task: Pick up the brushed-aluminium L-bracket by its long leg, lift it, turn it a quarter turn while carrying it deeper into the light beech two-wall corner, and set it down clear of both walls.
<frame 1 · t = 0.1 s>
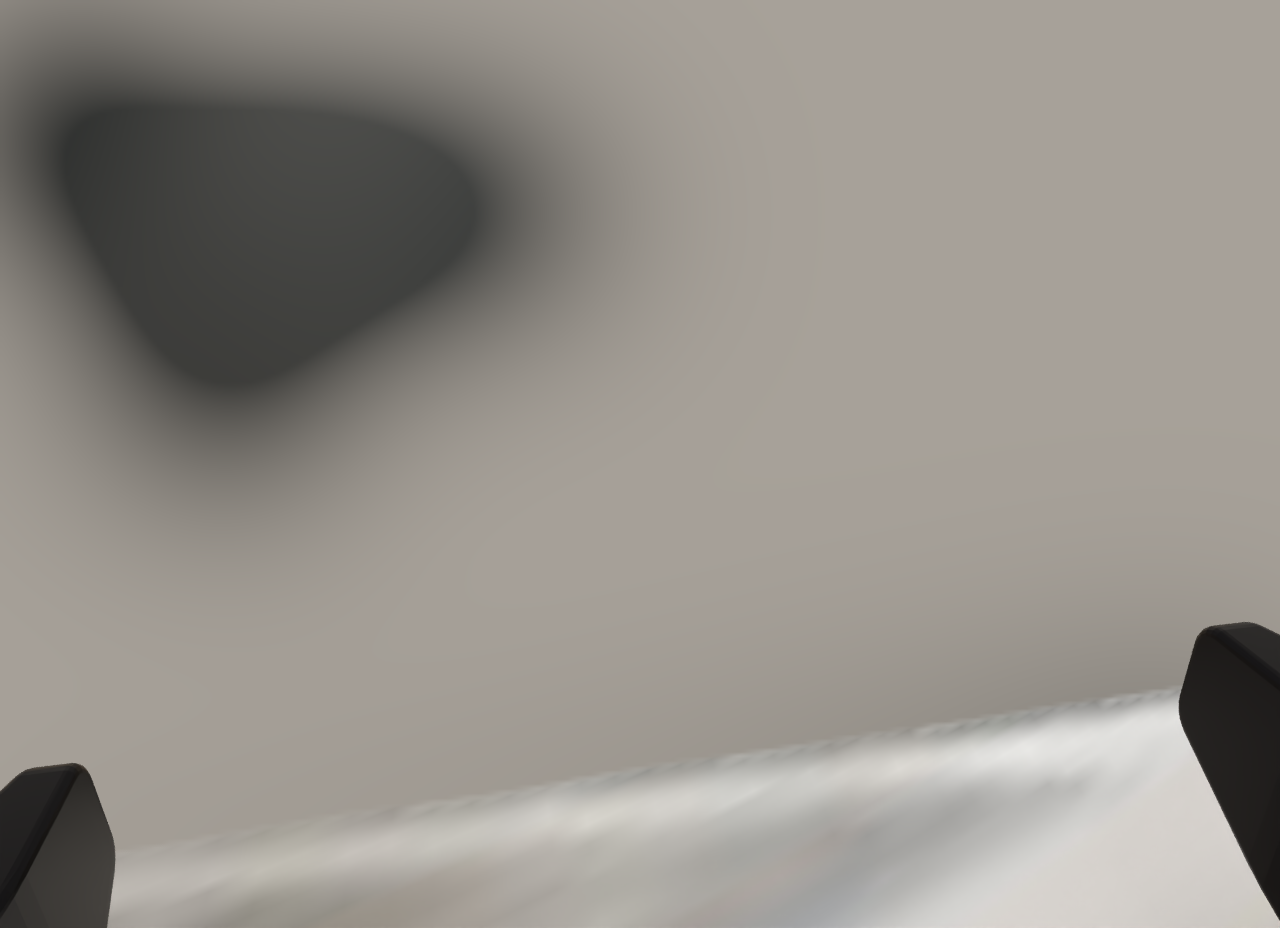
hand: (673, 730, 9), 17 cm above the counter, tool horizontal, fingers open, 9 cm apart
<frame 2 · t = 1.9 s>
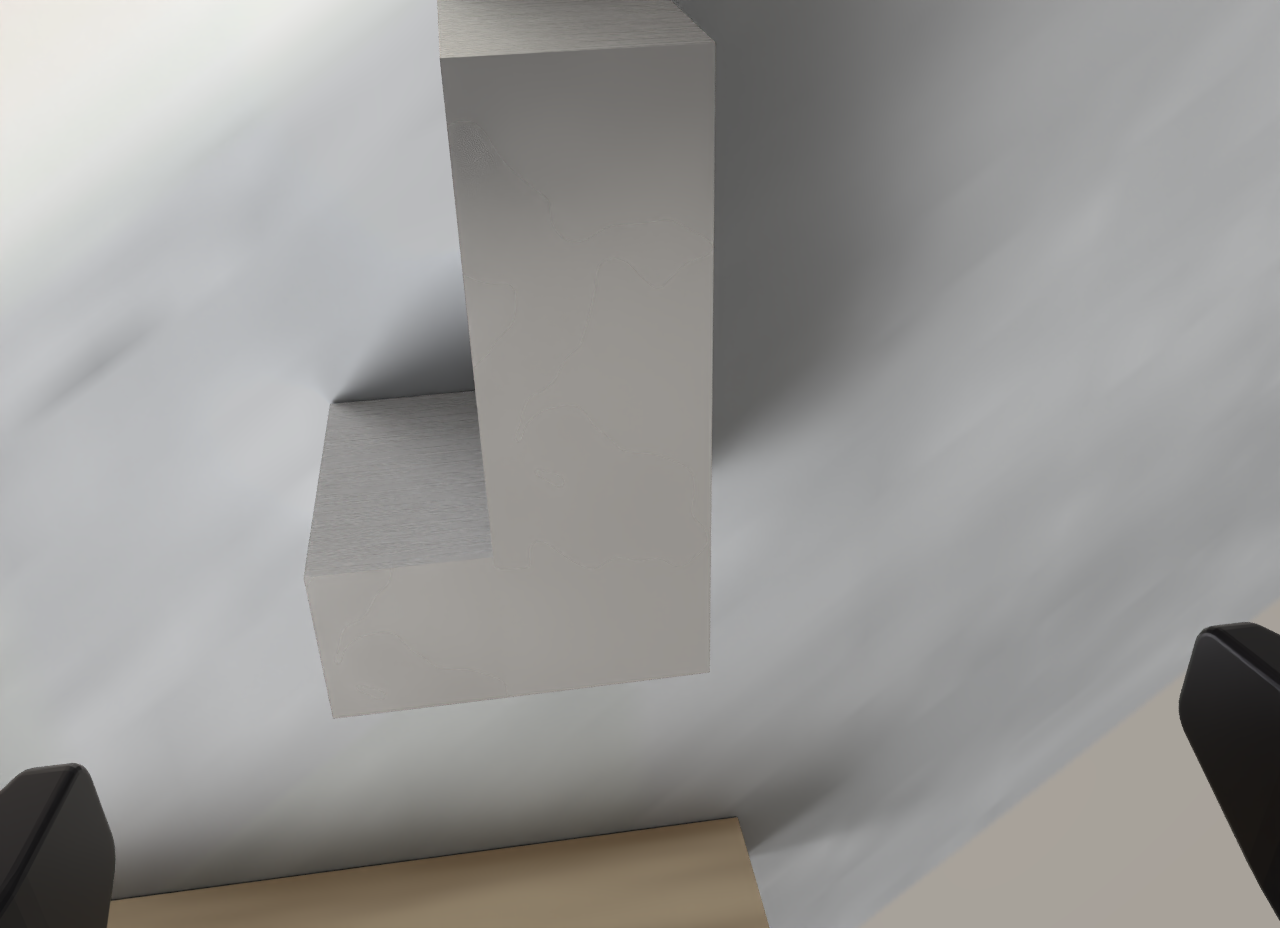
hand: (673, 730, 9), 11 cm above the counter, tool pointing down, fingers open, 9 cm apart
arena: (68, 579, 21), on the counter
bracket: (557, 244, 19), on the counter
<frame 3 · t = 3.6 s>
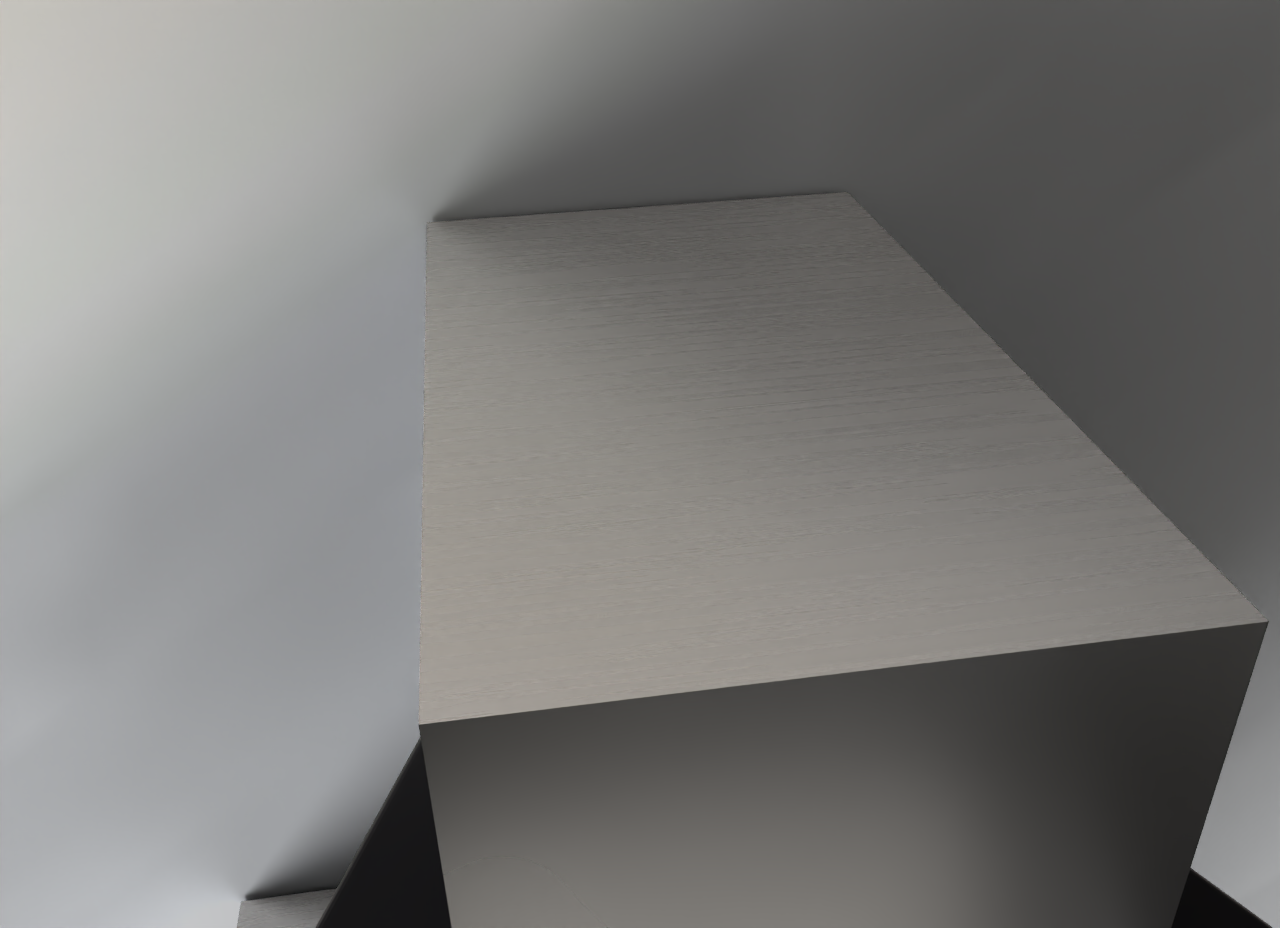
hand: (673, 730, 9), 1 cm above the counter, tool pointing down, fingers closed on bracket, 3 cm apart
bracket: (652, 648, 10), on the counter, touching gripper
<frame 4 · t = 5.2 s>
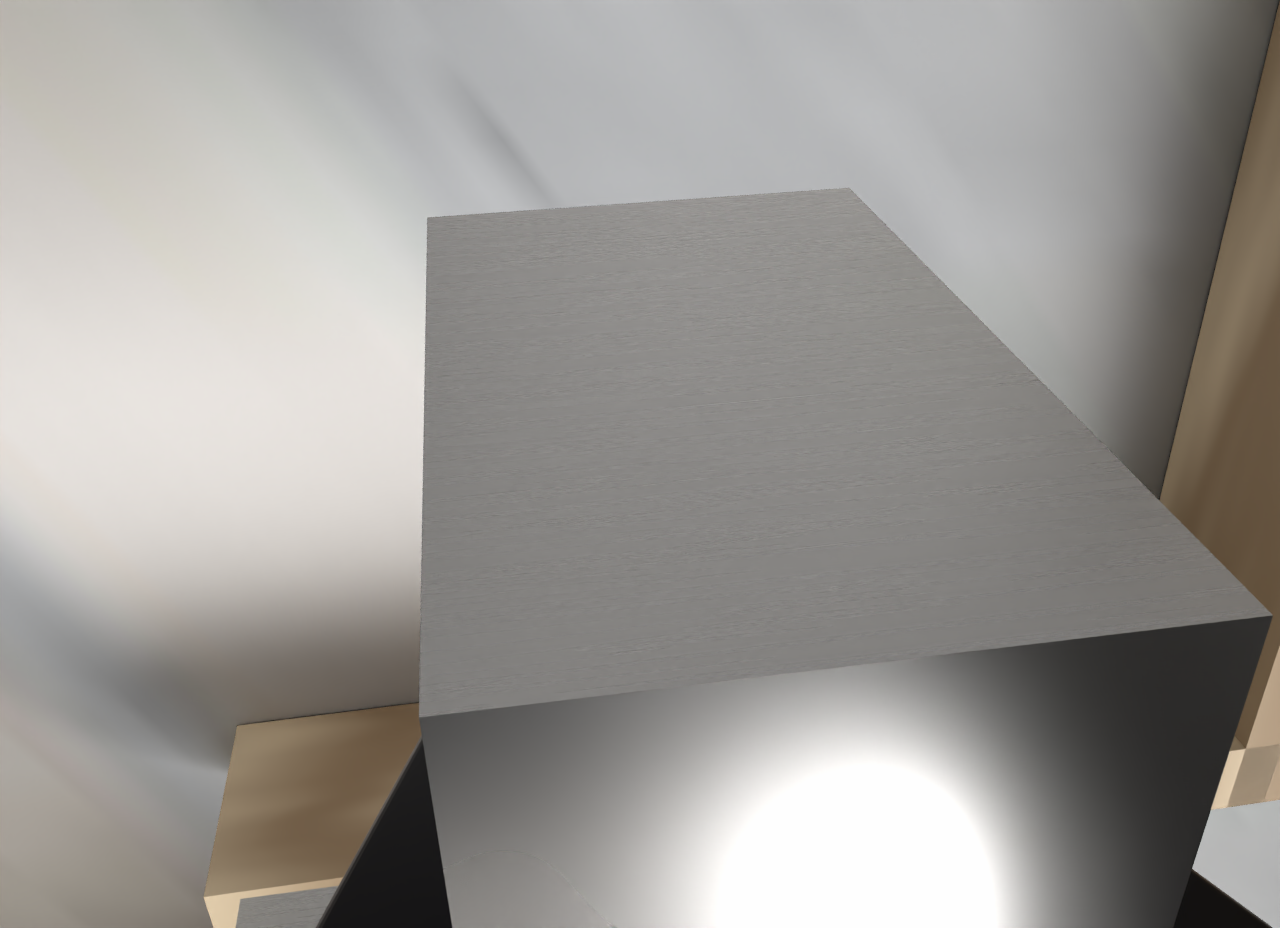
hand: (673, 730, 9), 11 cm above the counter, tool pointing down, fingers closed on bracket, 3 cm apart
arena: (760, 217, 19), on the counter
bracket: (652, 645, 10), point 10 cm above the counter, touching gripper
when the fingers open (2 cm above the counter, at t = 6.9 s): bracket drops 1 cm, on the counter.
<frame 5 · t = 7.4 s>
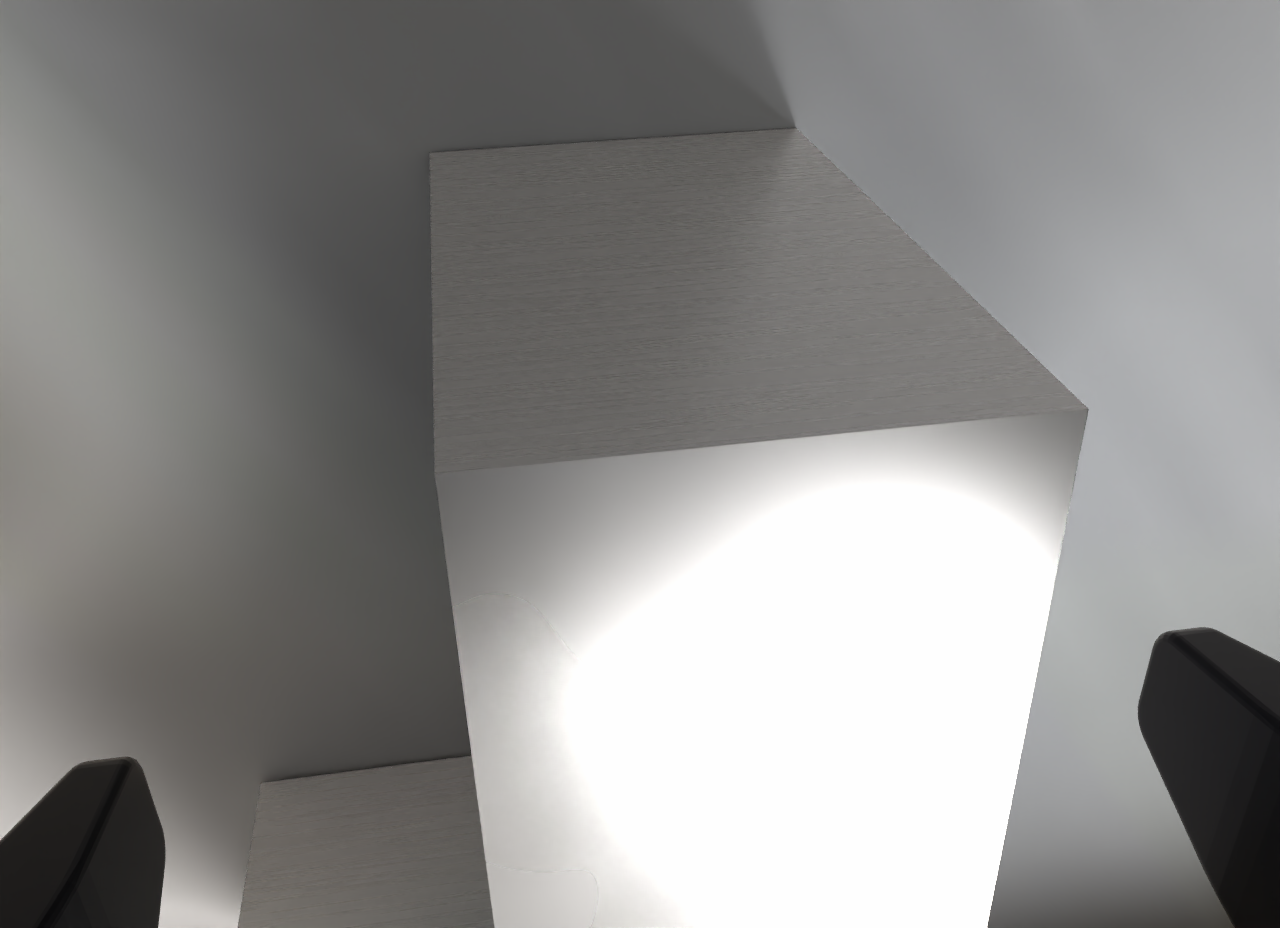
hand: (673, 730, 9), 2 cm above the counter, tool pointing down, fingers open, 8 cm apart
bracket: (630, 546, 12), on the counter
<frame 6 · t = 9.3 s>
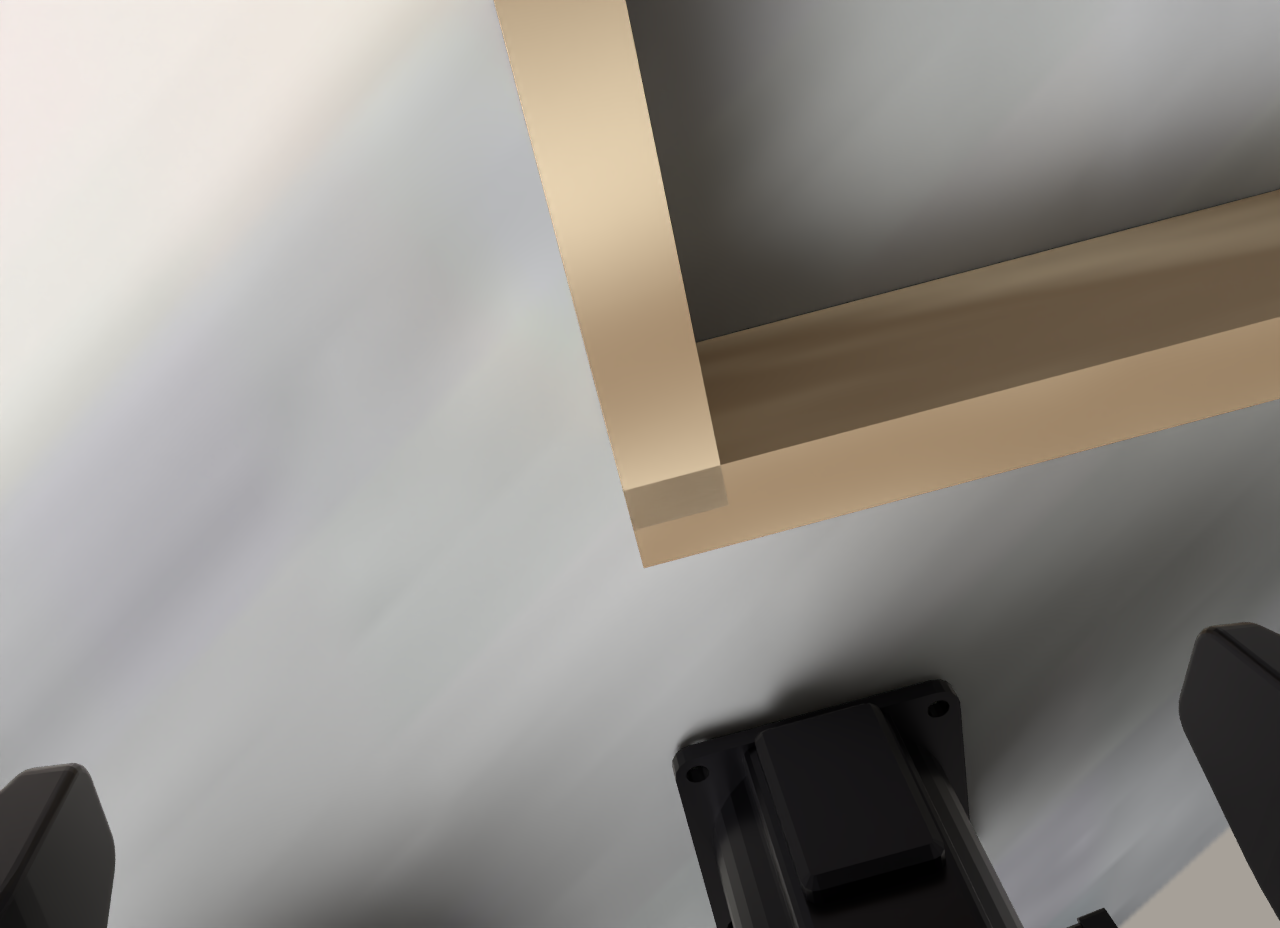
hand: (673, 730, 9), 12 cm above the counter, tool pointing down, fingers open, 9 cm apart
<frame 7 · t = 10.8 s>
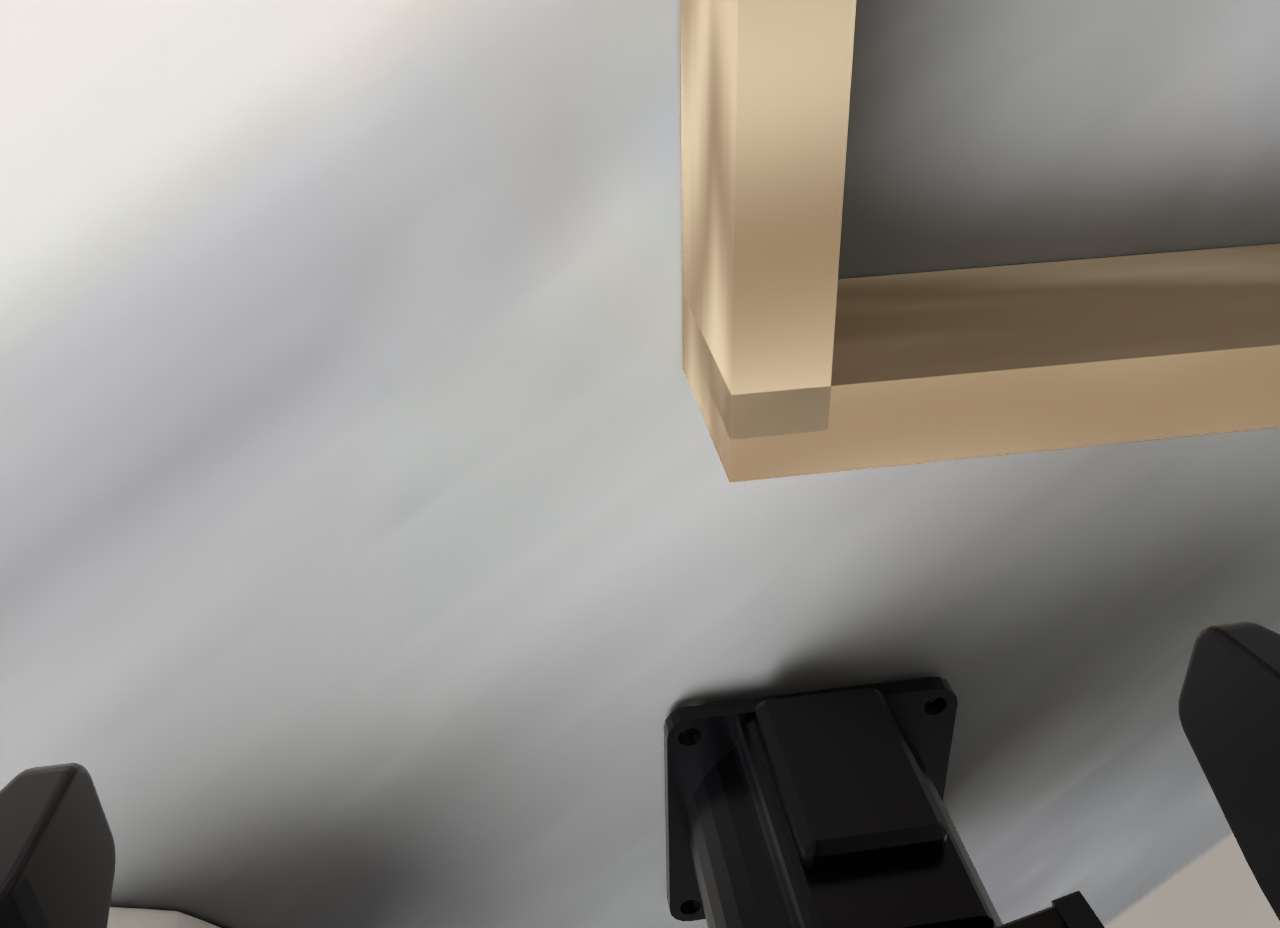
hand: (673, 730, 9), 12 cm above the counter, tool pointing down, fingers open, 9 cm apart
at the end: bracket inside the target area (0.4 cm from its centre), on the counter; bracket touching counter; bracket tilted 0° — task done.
